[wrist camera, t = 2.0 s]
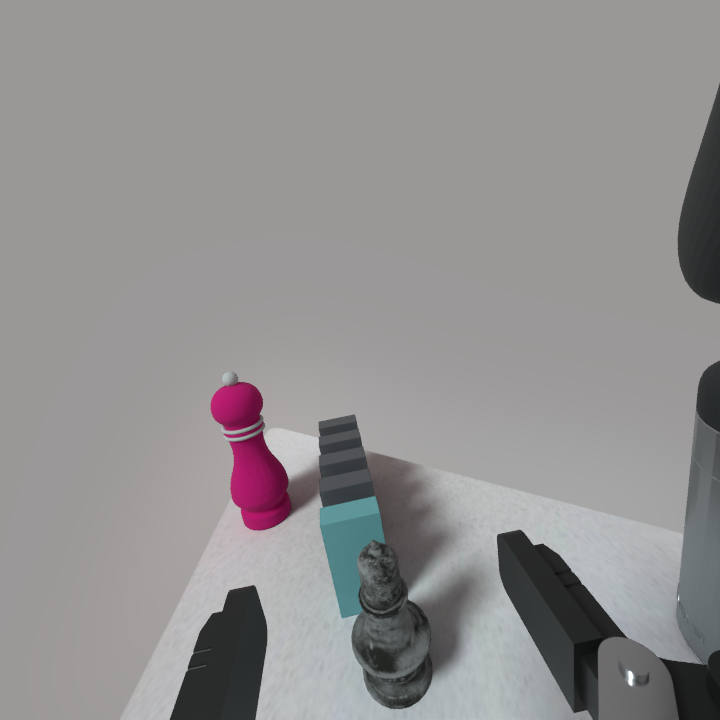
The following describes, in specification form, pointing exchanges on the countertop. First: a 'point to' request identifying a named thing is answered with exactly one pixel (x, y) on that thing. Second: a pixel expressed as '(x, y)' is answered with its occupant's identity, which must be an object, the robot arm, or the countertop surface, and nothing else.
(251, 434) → the pepper mill
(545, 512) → the countertop surface
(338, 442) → the domino
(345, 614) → the domino
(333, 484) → the domino
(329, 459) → the domino
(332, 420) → the domino
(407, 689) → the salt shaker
